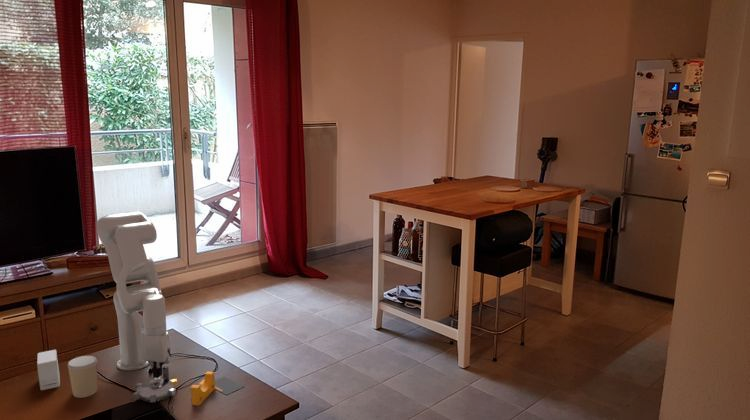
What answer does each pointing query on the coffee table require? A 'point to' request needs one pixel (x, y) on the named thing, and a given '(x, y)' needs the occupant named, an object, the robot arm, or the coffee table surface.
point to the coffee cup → (83, 376)
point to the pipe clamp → (203, 388)
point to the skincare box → (48, 370)
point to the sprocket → (156, 388)
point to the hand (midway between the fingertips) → (157, 376)
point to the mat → (226, 385)
